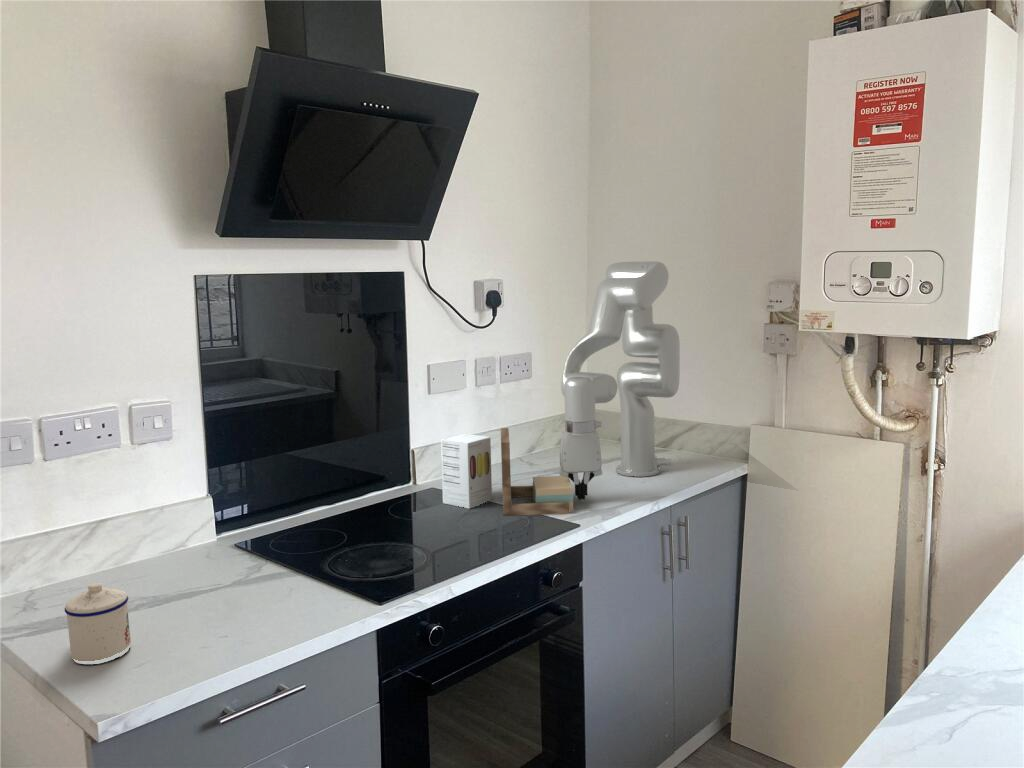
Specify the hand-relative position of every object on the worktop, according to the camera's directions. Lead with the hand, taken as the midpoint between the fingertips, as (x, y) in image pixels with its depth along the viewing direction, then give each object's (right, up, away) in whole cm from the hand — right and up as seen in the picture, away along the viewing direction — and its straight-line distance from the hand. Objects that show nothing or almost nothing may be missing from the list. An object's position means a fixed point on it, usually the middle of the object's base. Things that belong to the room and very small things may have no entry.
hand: (581, 498), depth 209 cm
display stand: (-12, -2, 0) cm, 12 cm away
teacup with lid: (-84, -15, -75) cm, 114 cm away
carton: (-7, -2, 0) cm, 7 cm away
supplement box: (-29, -2, +4) cm, 29 cm away
